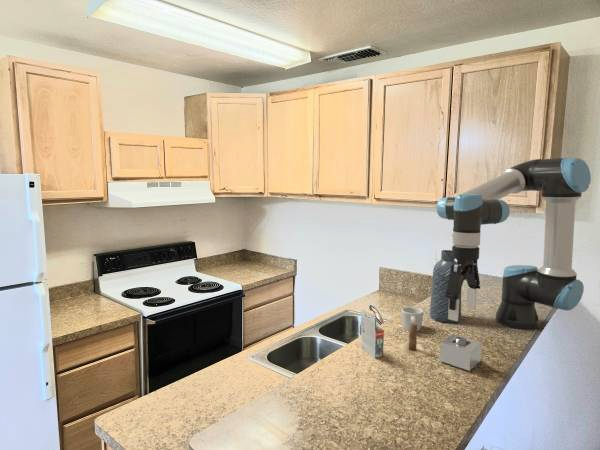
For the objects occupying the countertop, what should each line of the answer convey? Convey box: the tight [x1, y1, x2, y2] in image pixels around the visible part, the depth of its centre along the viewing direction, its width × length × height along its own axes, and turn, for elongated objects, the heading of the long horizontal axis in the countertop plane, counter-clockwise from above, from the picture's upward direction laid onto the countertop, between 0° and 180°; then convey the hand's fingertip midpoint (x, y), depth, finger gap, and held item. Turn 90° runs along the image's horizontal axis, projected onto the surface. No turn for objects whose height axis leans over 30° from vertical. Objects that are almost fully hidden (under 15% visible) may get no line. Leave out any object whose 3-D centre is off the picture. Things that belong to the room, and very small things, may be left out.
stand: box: [397, 323, 429, 356], centre depth 127 cm, size 8×8×10 cm
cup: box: [401, 306, 424, 332], centre depth 144 cm, size 11×8×8 cm
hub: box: [449, 336, 466, 369], centre depth 118 cm, size 8×8×8 cm
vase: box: [429, 249, 463, 324], centre depth 157 cm, size 12×12×28 cm
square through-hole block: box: [439, 333, 483, 372], centre depth 118 cm, size 9×9×6 cm
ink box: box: [360, 309, 385, 359], centre depth 124 cm, size 4×8×15 cm, turn 26°
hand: (462, 314), depth 117 cm, fingers open, 13 cm apart
